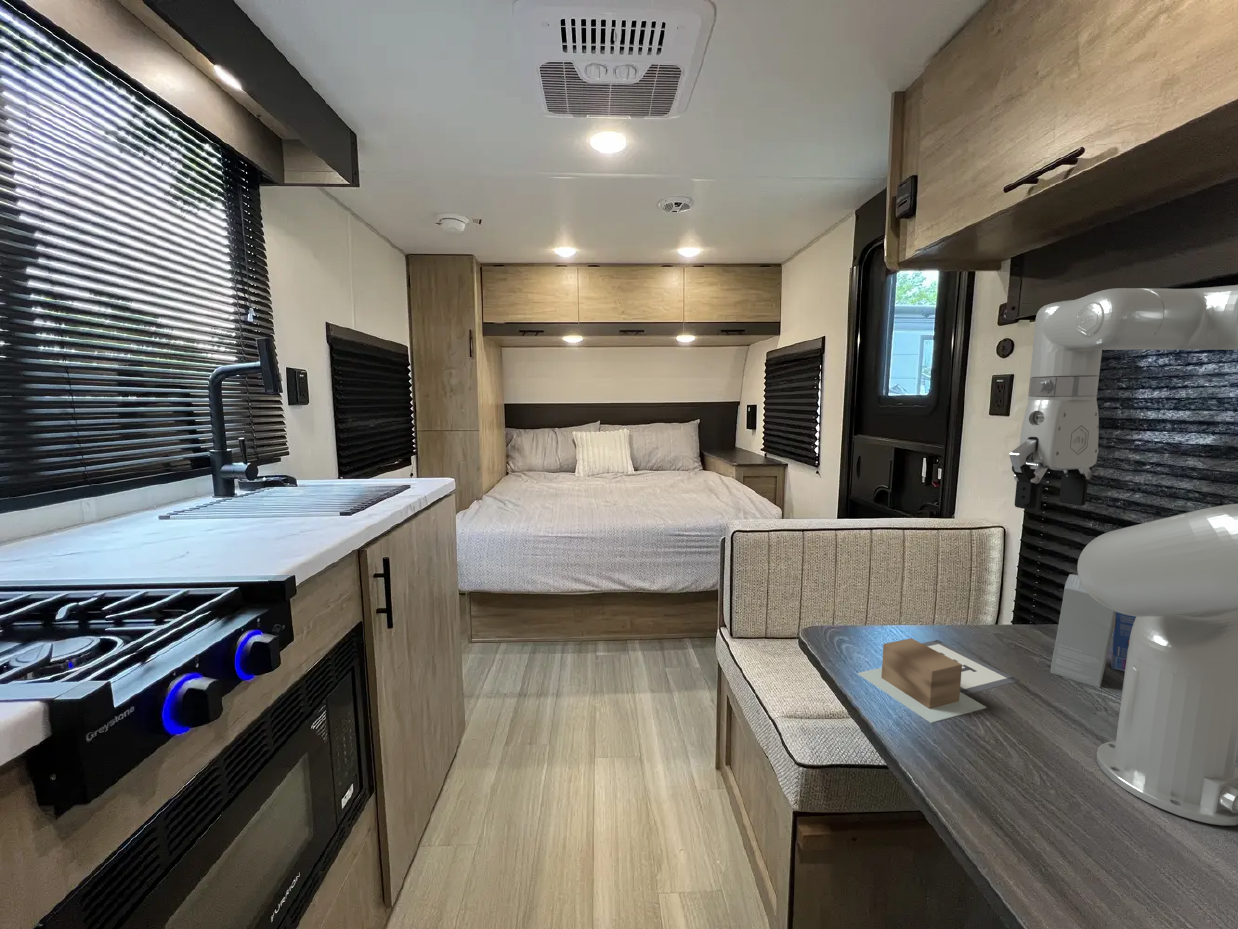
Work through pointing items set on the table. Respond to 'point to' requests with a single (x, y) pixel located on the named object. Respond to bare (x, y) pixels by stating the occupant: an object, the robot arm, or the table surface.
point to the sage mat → (931, 714)
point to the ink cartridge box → (1121, 640)
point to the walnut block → (921, 672)
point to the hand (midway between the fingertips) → (1049, 506)
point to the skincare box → (1082, 635)
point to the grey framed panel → (972, 670)
